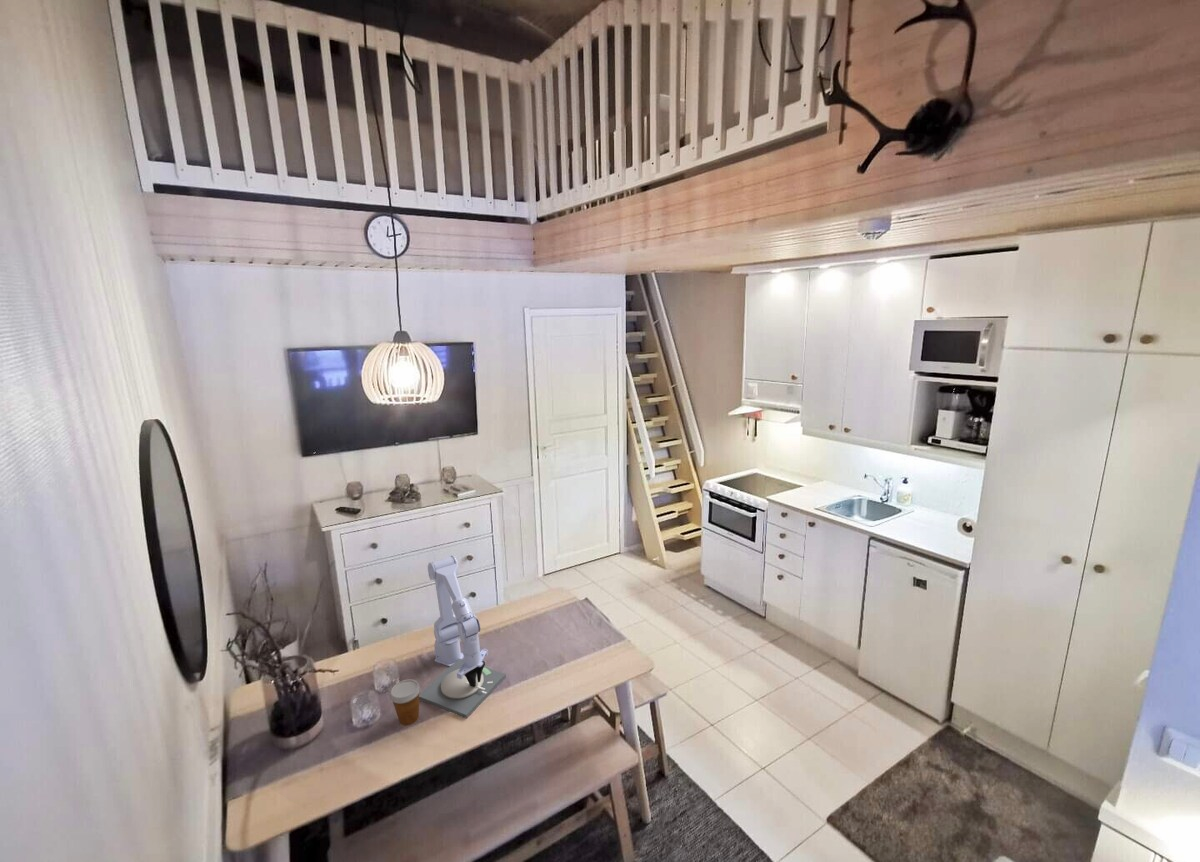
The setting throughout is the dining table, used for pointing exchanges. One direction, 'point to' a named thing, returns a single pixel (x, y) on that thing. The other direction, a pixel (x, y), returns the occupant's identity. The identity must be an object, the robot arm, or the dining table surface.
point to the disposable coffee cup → (406, 701)
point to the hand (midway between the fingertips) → (475, 683)
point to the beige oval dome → (459, 686)
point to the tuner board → (462, 705)
